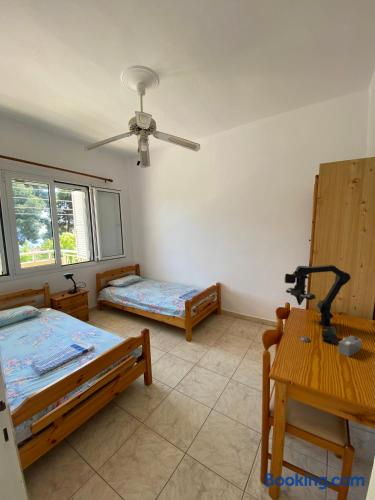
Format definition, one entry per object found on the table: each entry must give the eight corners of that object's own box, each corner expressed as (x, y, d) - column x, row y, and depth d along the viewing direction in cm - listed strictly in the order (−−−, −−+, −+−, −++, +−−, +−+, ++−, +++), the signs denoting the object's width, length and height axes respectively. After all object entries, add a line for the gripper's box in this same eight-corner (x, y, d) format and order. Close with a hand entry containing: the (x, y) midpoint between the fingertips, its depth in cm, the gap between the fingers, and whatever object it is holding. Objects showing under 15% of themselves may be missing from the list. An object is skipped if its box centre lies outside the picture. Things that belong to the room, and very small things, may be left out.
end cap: (337, 345, 119) (338, 334, 118) (323, 342, 122) (323, 331, 121) (335, 337, 127) (336, 327, 126) (321, 334, 131) (322, 324, 130)
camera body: (349, 344, 120) (350, 333, 119) (360, 349, 115) (361, 338, 114) (336, 351, 114) (337, 339, 113) (348, 356, 109) (349, 345, 108)
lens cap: (303, 337, 129) (303, 335, 128) (311, 341, 124) (311, 339, 124) (298, 339, 126) (298, 337, 126) (306, 343, 122) (306, 341, 122)
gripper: (281, 282, 150) (280, 302, 152) (306, 289, 133) (305, 312, 135) (291, 280, 155) (290, 299, 157) (316, 286, 138) (315, 308, 140)
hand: (299, 304), depth 147 cm, fingers closed
